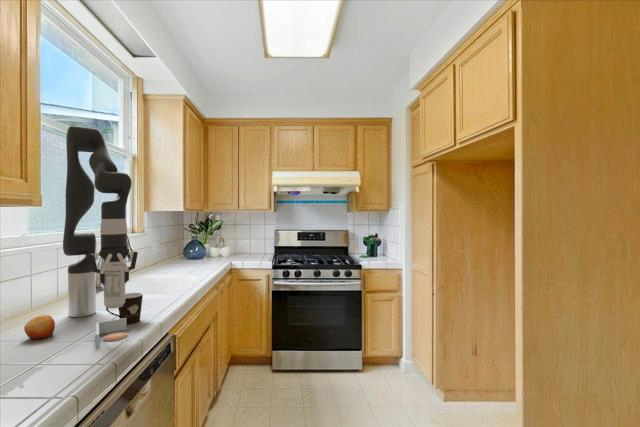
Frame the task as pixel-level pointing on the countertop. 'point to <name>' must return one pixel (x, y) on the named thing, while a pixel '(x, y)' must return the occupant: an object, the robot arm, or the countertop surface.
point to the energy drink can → (114, 285)
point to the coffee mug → (130, 308)
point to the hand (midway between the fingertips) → (114, 283)
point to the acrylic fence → (109, 327)
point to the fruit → (40, 327)
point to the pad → (115, 336)
